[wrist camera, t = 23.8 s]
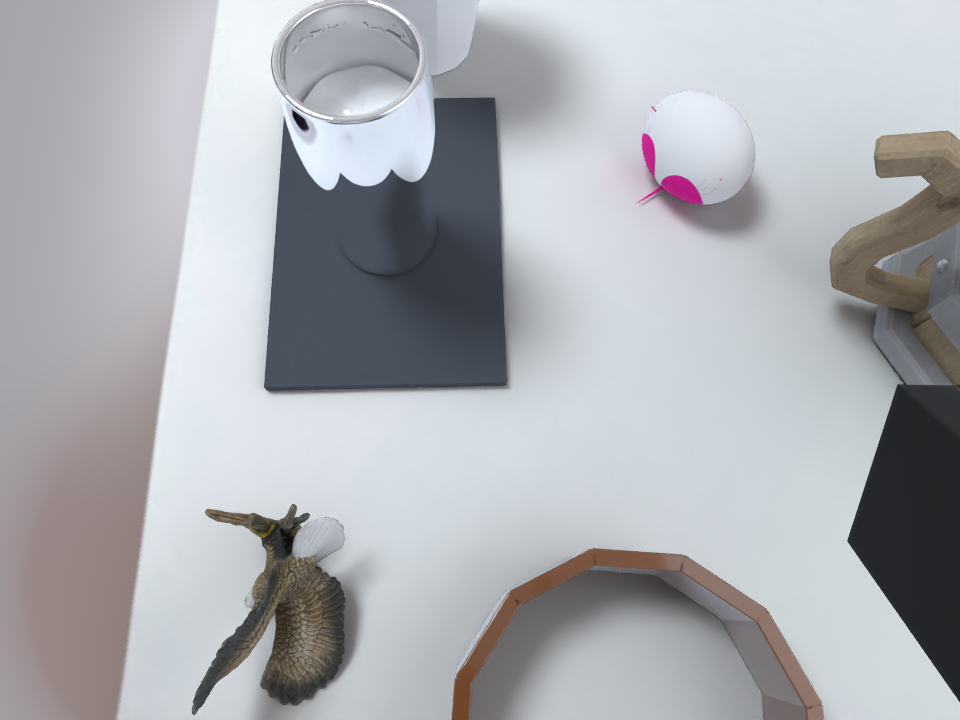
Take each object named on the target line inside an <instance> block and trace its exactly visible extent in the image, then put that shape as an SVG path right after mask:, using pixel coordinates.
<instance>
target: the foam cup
mask: <svg viewBox="0 0 960 720" xmlns="http://www.w3.org/2000/svg"><path fill="white" fill-rule="evenodd" d="M379 1H383V2H385V3H388V4H390V5H392V6H394V7H396V8H397V9H399V10H401V11H402V12H403V13H405V14H406V15H407V16H408V17H409V18H410V19H411V20H412V21H413V22H414V23H415V24H416V26H417V27H418V29H419V30H420V32H421V34H422V36H423V38H424V41H425V44H426V49H427V60H428V65H429V70H430V75H440V74H442V73H444V72H447V71H449V70H452V69H454V68H456V67H457V66H458V65H459V64H460V63H461V62H462V61H463V60H464V59H465V58H466V56H467V55H468V54H469V50H470V46H471V41H472V36H473V32H474V27H475V21H476V16H477V10H478V5H479V0H379Z"/></svg>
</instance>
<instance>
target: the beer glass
mask: <svg viewBox="0 0 960 720" xmlns="http://www.w3.org/2000/svg"><path fill="white" fill-rule="evenodd" d="M271 67H272V74H273V78H274V81H275V83H276V85H277V89H278V93H279V97H280V101H281V105H282V109H283V113H284V116H285V120H286V124H287V127H288V129H289V132H290V135H291V138H292V141H293V144H294V146H295V149H296V151H297V153H298V155H299V158H300V160H301V162H302V164H303V166H304V168H305V169H306V171H307V172H308V174H309V176H310V177H311V179H312V180H313V182H314V184H315V185H316V186H317V188H318V189H319V190H320V192H321V193H322V195H323V196H324V197H325V199H326V200H327V201H328V202H329V204H330V205H331V206H332V208H333V209H334V210H335V212H336V213H337V215H338V236H339V241H340V244H341V247H342V249H343V251H344V253H345V255H346V256H347V257H348V259H349V260H350V261H351V262H352V263H353V264H354V265H356V266H357V267H359V268H360V269H362V270H364V271H366V272H369V273H372V274H376V275H396V274H401V273H404V272H407V271H409V270H411V269H413V268H415V267H416V266H418V265H419V264H420V263H421V262H423V261H424V260H425V259H426V257H427V256H428V255H429V253H430V252H431V250H432V248H433V246H434V243H435V240H436V234H437V224H436V219H435V216H434V213H433V210H432V208H431V206H430V204H429V202H428V199H427V193H428V187H429V183H430V179H431V174H432V169H433V164H434V159H435V150H436V142H437V118H436V108H435V99H434V92H433V86H432V80H431V75H430V70H429V65H428V60H427V49H426V44H425V41H424V38H423V36H422V34H421V32H420V30H419V29H418V27H417V26H416V24H415V23H414V22H413V21H412V20H411V19H410V18H409V17H408V16H407V15H406V14H405V13H403V12H402V11H401V10H399V9H397V8H396V7H394V6H392V5H390V4H388V3H385V2H383V1H379V0H325V1H322V2H319V3H317V4H314V5H312V6H310V7H308V8H306V9H305V10H303V11H301V12H300V13H299V14H297V15H296V16H295V17H294V18H292V19H291V20H290V21H289V22H288V23H287V24H286V26H285V27H284V28H283V30H282V31H281V32H280V34H279V36H278V38H277V40H276V42H275V45H274V48H273V51H272V58H271Z"/></svg>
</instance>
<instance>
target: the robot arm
mask: <svg viewBox="0 0 960 720" xmlns="http://www.w3.org/2000/svg"><path fill="white" fill-rule="evenodd" d="M847 541H848V543H849V544H850V546H851V547H852V549H853V550H854V551H855V553H856V554H857V556H858V557H859V559H860V560H861V561H862V563H863V564H864V566H865V567H866V569H867V570H868V571H869V573H870V574H871V576H872V577H873V579H874V580H875V582H876V583H877V584H878V586H879V587H880V589H881V590H882V592H883V593H884V594H885V596H886V597H887V599H888V600H889V602H890V603H891V604H892V606H893V607H894V609H895V610H896V612H897V613H898V614H899V616H900V617H901V619H902V620H903V622H904V623H905V624H906V626H907V627H908V629H909V630H910V632H911V633H912V634H913V636H914V637H915V639H916V640H917V642H918V643H919V644H920V646H921V647H922V649H923V650H924V652H925V653H926V654H927V656H928V657H929V659H930V660H931V662H932V663H933V665H934V666H935V667H936V669H937V670H938V672H939V673H940V675H941V676H942V677H943V679H944V680H945V682H946V683H947V685H948V686H949V687H950V689H951V690H952V692H953V693H954V695H955V696H956V697H957V699H958V700H959V702H960V390H958V389H957V388H956V387H954V386H953V385H902V384H898V385H897V388H896V391H895V394H894V397H893V400H892V404H891V407H890V410H889V413H888V416H887V419H886V422H885V425H884V428H883V432H882V435H881V438H880V441H879V444H878V447H877V450H876V453H875V456H874V459H873V463H872V466H871V469H870V472H869V475H868V478H867V481H866V484H865V487H864V491H863V494H862V497H861V500H860V503H859V506H858V509H857V512H856V515H855V519H854V522H853V525H852V528H851V531H850V534H849V537H848V540H847Z"/></svg>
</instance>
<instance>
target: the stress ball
mask: <svg viewBox="0 0 960 720" xmlns="http://www.w3.org/2000/svg"><path fill="white" fill-rule="evenodd" d="M651 107H652V106H651ZM652 108H653V107H652ZM642 150H643V155H644V158H645V161H646V164H647V166H648V168H649V171H650V172H651V174H652V175H653V177H654V178H655V179H656V181H657V182H658V183H659V184H660V185H661V187H659V188H658V189H656V190H655V191H654V192H652V193H651V194H649V195H648V196H646V197H645V198H643V199H642V200H644V199H646V198H648V197H649V196H651V195H653V194H655V193H657V192H659V191H660V190H662V189H665V190H666V191H667V192H669V193H670V194H672V195H673V196H675V197H677V198H679V199H681V200H683V201H686V202H689V203H694V204H702V205H707V204H715V203H719V202H722V201H725V200H727V199H729V198H731V197H733V196H734V195H735V194H737V193H738V192H739V191H740V190H741V189H742V188H743V187H744V186H745V184H746V183H747V181H748V180H749V178H750V176H751V173H752V171H753V168H754V163H755V143H754V139H753V135H752V132H751V130H750V127H749V126H748V124H747V122H746V120H745V119H744V117H743V116H742V115H741V114H740V112H739V111H738V110H737V109H736V108H735V107H734V106H733V105H731V104H730V103H729V102H727V101H726V100H724V99H723V98H721V97H719V96H717V95H714V94H712V93H709V92H705V91H699V90H686V91H681V92H677V93H674V94H672V95H670V96H668V97H666V98H664V99H663V100H661V101H660V102H659V103H658V104H657V105H656V106H655V107H654V108H653V109H652V111H651V112H650V114H649V116H648V118H647V120H646V122H645V125H644V128H643V133H642ZM642 200H641V201H642ZM639 202H640V201H639ZM639 202H638V203H639ZM636 204H637V203H636Z"/></svg>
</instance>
